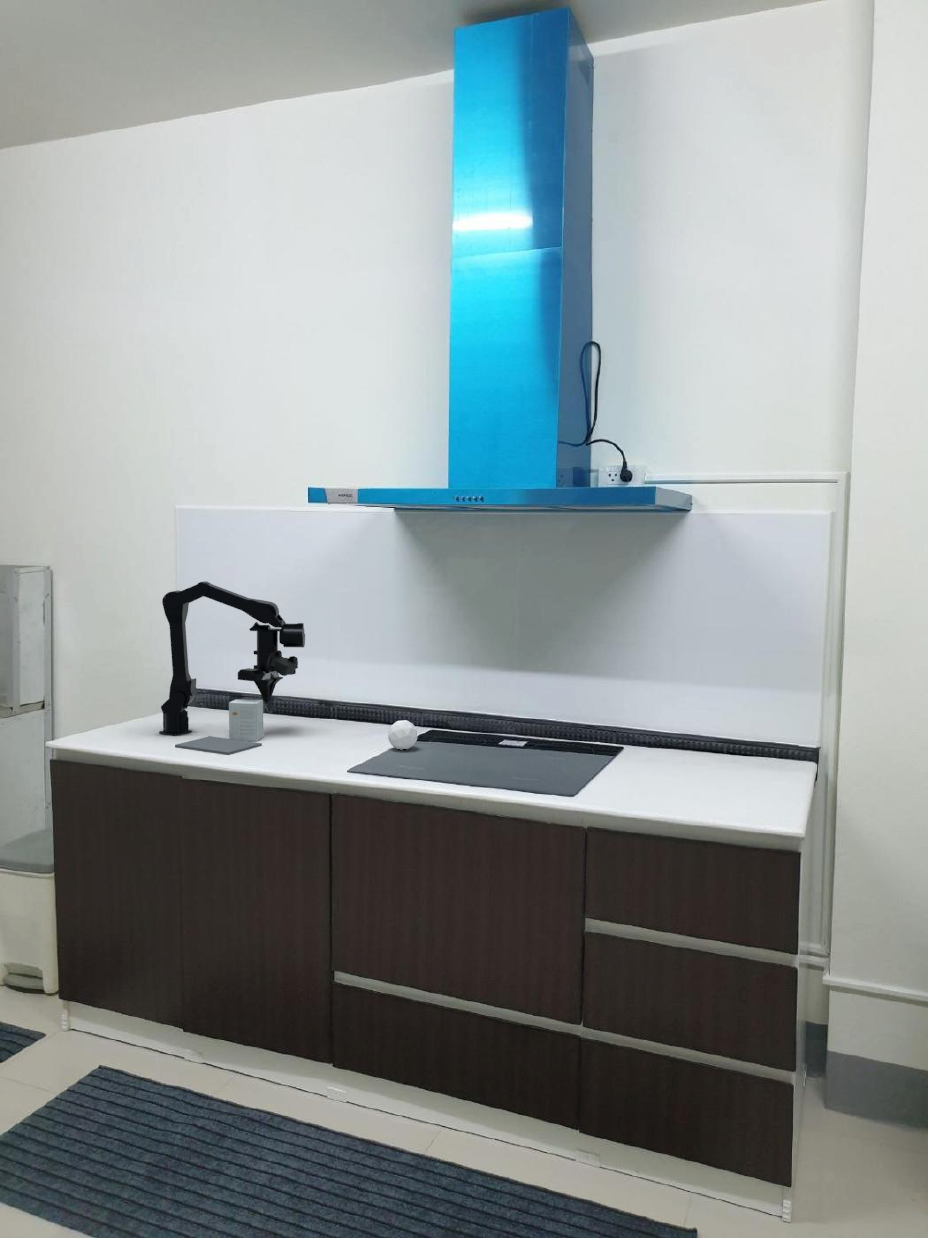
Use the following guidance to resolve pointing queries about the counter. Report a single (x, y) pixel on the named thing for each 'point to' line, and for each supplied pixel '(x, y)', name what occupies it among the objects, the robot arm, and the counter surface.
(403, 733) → the ball
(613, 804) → the counter surface
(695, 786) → the counter surface
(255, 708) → the small box
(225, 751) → the mat
